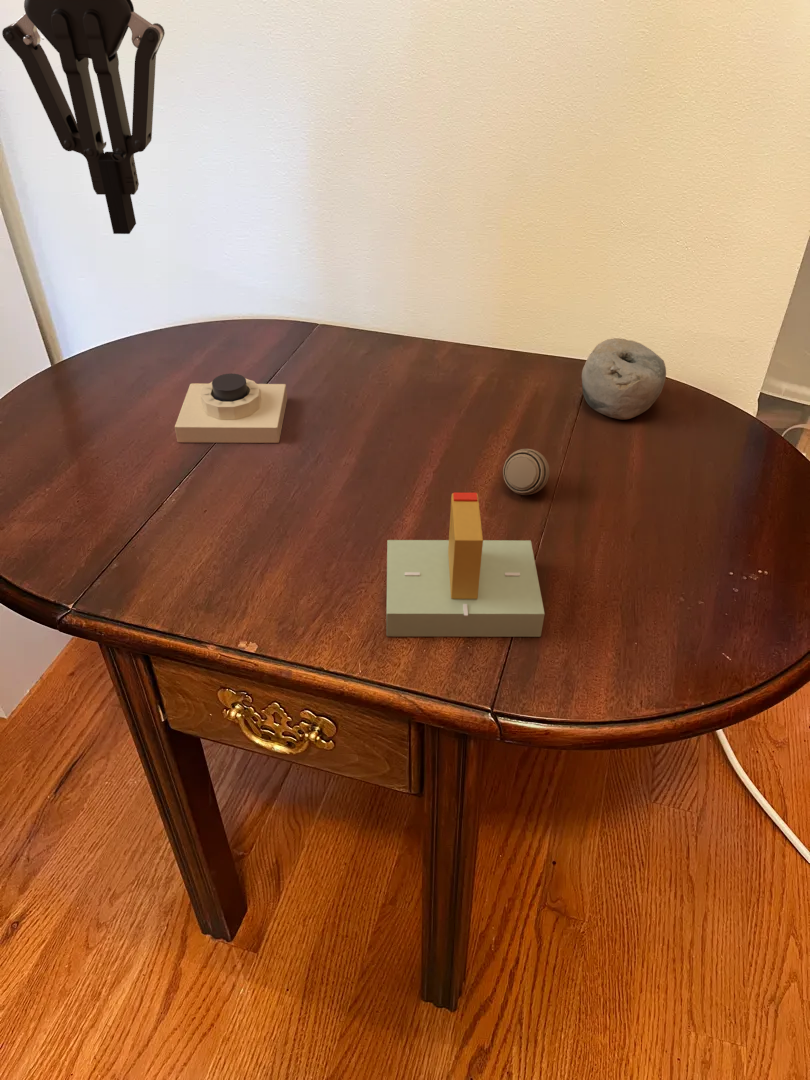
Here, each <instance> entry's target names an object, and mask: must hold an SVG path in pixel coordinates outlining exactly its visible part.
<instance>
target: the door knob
mask: <svg viewBox="0 0 810 1080" xmlns="http://www.w3.org/2000/svg"><path fill="white" fill-rule="evenodd" d="M502 477H503V480H504V483H505V484H506V486H507V487H508V488H509V489H510V490H511V491H512V492H514V493H516V494H518V495H522V496H529V495H534V494H537V493H539V492H540V491H541V490H543V488H544V487H545V486H546V484H547V483H548V482H549V478H550V465H549V462H548V460H547V458H546V457H545V456H544V455H543V454H542V453H541V452H539V451H537V450H536V449H532V448H520V449H518V450H515V451H514V452H512V453H511V454H510V455H509V456H508V457H507V458H506V460H505V462H504V464H503V467H502Z"/></svg>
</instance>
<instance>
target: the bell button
mask: <svg viewBox="0 0 810 1080" xmlns="http://www.w3.org/2000/svg"><path fill="white" fill-rule="evenodd" d="M245 378H246V377H245V376H243V375H241V374H239V373H231V372H230V373H223V374H220V375H218V376H216V377H215V378H213V380H212V381H211V382H212V387H213V394H214V398H215V399H216V400H219V401H222V402H233V401H237V400H240V399H243V398H244V397H246V396H247V394H248V392H247V384H246V379H247V378H246V379H245Z"/></svg>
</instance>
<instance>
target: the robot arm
mask: <svg viewBox="0 0 810 1080" xmlns="http://www.w3.org/2000/svg"><path fill="white" fill-rule="evenodd" d="M23 8H24V9H23V10H24V12H25V13H23V14H22V15H21V16H20V17H19V18H18V19H16V21H15V22H13V23H11V24H10V25H8V26H6V27H4V28H3V29H2V32H1V35H2V38H3V39H4V41H5V42H6V43H7V45H8V46H9V47H10V48H11V50H12V51H13V52H14V53H15V54H16V56H17V57H18V58H19V59H20V61H21V62H22V65H23V66H24V69H25V71H26V74H27V75H28V77H29V80H30V82H31V84H32V86H33V88H34V90H35V92H36V94H37V96H38V99H39V101H40V103H41V105H42V108H43V110H44V112H45V114H46V116H47V118H48V120H49V122H50V124H51V127H52V128H53V131H54V133H55V135H56V137H57V139H58V141H59V143H60V146H61V147H62V149H63V150H65V151H66V152H75V153H78V154H80V155H82V156H83V157H84V158H85V159H86V163H87V167H88V170H89V171H88V172H89V176H90V180H91V184H92V185H91V186H92V189H93V191H94V192H95V194H96V195H104V196H105V200H106V205H107V210H108V211H107V212H108V215H109V219H110V225H111V228H112V233H113V234H114V235H130V234H131V232H132V231H133V229H134V228H135V226H136V225H137V220H136V215H135V210H134V205H133V199H132V196H133V195H135V194H136V193H137V191H138V190H139V185H140V183H139V178H138V173H137V172H138V171H137V167H136V161H135V154H137V153H141V152H144V151H145V150H146V149H147V147H148V146H149V144H150V143H151V142H152V138H153V119H154V100H155V84H156V83H155V82H156V80H155V79H156V64H157V54H158V51H159V49H160V47H161V44H162V42H163V40H164V38H165V34H166V33H165V28H164V26H162V25H161V23H157V22H154V23H153V24H152V23H151V22H150V21H148V20H147V19H146V18H144V17H142V16H141V15H140V14H139V13H137V12H136V11H135V8H134V4H133V1H132V0H24V2H23ZM128 29H129V30H130V31H131V42H132V45H133V46H134V47H135V48H136V52H135V57H134V68H133V69H134V70H133V97H132V119H131V120H132V123H131V126H130V121H129V115H128V111H127V106H126V101H125V96H124V90H123V85H122V80H121V79H122V78H121V75H120V69H119V65H120V62H119V61H120V60H119V55H118V51H119V49H120V47H121V44H122V42H123V40H124V38H125V36H126V34H127V32H128ZM39 32H40V33H41V34H42V36H43V37H44V38H45V39H46V41H47V42H48V43H49V44H50V45H51V46H52V48H53V49H54V50H55V51H56V52H57V53H58V55H59V59H60V64H61V68H62V71H63V73H64V74H65V76H66V81H67V86H68V90H69V95H70V99H71V104H72V107H73V112H74V114H73V112H72V109H71V107H70V105H69V103H68V101H67V99H66V96H65V93H64V91H63V89H62V87H61V85H60V83H59V80H58V78H57V76H56V74H55V71H54V69H53V67H52V64H51V62H50V60H49V58H48V56H47V54H46V52H45V50H44V49H43V47H42V45H41V44H40V43H41V39H42V38H41V35H40V33H39ZM90 60H91V62H92V67H93V71H94V73H95V75H96V79H97V81H98V87H99V92H100V98H101V103H102V107H103V112H104V116H105V122H106V126H107V132H108V136H109V141H110V145H111V146H110V147H111V150H112V151H104V149H105V148H106V147H107V141H104V137H103V132H102V128H101V123H100V117H99V113H98V112H99V111H98V108H97V102H96V98H95V93H94V88H93V84H92V79H91V74H90V69H89V67H90V66H89V65H90Z"/></svg>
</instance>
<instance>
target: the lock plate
mask: <svg viewBox="0 0 810 1080" xmlns="http://www.w3.org/2000/svg"><path fill="white" fill-rule="evenodd" d="M386 541H387V542H386V543H387V544H386V613H385V615H386V618H385V619H386V620H385V621H386V624H385V626H386V637H423V638H424V637H426V638H428V637H432V638H434V637H436V638H437V637H438V638H439V637H444V638H445V637H451V638H452V637H457V638H458V637H462V638H463V637H467V638H468V637H469V638H470V637H471V638H473V637H475V638H476V637H480V638H482V637H484V638H485V637H486V638H487V637H489V638H491V637H493V638H494V637H496V638H497V637H498V638H501V637H502V638H503V637H504V638H505V637H507V638H508V637H511V638H513V637H514V638H517V637H518V638H522V637H523V638H525V637H526V638H527V637H528V638H529V637H530V638H533V637H534V638H540V637H542V630H543V627H544V620H545V615H546V613H545V607H544V603H543V598H542V597H543V596H542V591H541V587H540V582H539V577H538V571H537V566H536V560H535V555H534V551H533V550H534V549H533V544H532V541H531V539H530V540H529V539H528V540H527V539H526V540H525V539H524V540H518V539H517V540H515V539H513V540H511V539H509V540H507V539H504V540H503V539H499V540H496V539H494V540H493V539H490V540H489V539H483V546H482V557H481V567H480V578H479V588H478V598H477V599H451V591H450V574H449V557H448V546H449V539H387V540H386Z"/></svg>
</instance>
